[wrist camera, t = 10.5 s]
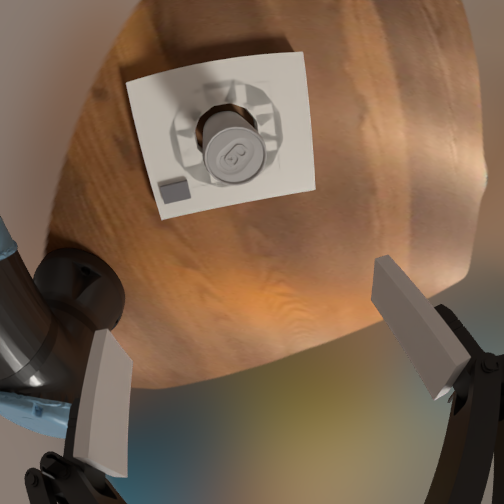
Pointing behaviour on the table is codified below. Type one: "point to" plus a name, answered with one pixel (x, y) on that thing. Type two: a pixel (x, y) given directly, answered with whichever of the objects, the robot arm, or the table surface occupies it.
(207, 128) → the beverage can
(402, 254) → the table surface
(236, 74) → the socket plate
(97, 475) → the robot arm
